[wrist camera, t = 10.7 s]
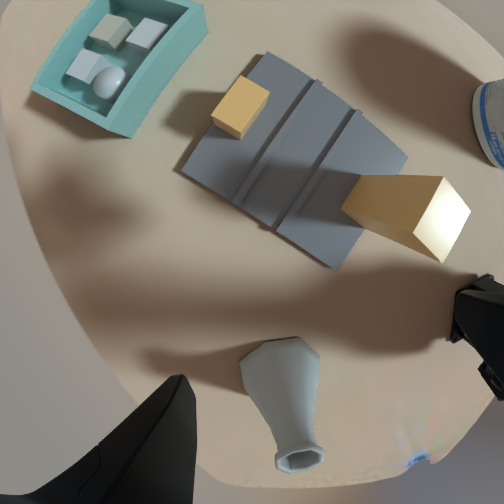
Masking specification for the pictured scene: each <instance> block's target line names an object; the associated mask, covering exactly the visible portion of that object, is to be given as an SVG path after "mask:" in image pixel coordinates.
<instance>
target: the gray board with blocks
mask: <svg viewBox="0 0 504 504" xmlns="http://www.w3.org/2000/svg"><path fill="white" fill-rule="evenodd" d="M211 117H212V119H213V123H212V124H211V126H210V127H209V129H208V130H207V132H206V133H205V134H204V136H203V137H202V139H201V140H200V142H199V143H198V145H197V147H196V148H195V150H194V151H193V153H192V154H191V156H190V157H189V159H188V161H187V162H186V164H185V165H184V167H183V168H182V170H181V171H182V172H183V173H185V174H187V175H188V176H190V177H192V178H193V179H195V180H197V181H198V182H200V183H201V184H203V185H205V186H206V187H208V188H210V189H211V190H213V191H214V192H216V193H218V194H219V195H221V196H222V197H224V198H226V199H227V200H229V201H230V202H231V203H233V204H234V205H236V206H237V207H240V208H241V209H243V210H245V211H246V212H248V213H249V214H251V215H252V216H254V217H255V218H257V219H259V220H260V221H262V222H263V223H265V224H266V225H268V226H269V227H271V228H272V229H274V230H275V231H276V232H278V233H279V234H281V235H283V236H285V237H286V238H288V239H289V240H291V241H292V242H294V243H295V244H297V245H298V246H300V247H301V248H303V249H304V250H306V251H307V252H309V253H310V254H312V255H313V256H315V257H316V258H318V259H319V260H321V261H322V262H324V263H325V264H327V265H328V266H330V267H331V268H332V269H334V270H335V271H336V270H337V269H338V267H339V266H340V265H341V263H342V262H343V260H344V259H345V257H346V256H347V254H348V253H349V252H350V250H351V249H352V247H353V246H354V244H355V243H356V241H357V240H358V238H359V237H360V235H361V234H362V232H363V231H364V229H368V230H370V231H372V232H375V233H377V234H379V235H382V236H384V237H386V238H388V239H391V240H393V241H395V242H398V243H400V244H402V245H404V246H406V247H409V248H411V249H413V250H415V251H417V252H419V253H422V254H424V255H426V256H428V257H430V258H432V259H434V260H436V261H438V262H440V263H443V262H444V260H445V258H446V257H447V255H448V253H449V251H450V250H451V248H452V246H453V244H454V243H455V241H456V239H457V237H458V235H459V233H460V231H461V229H462V227H463V225H464V223H465V221H466V219H467V217H468V215H469V213H470V210H469V208H468V207H467V205H466V204H465V203H464V201H463V200H462V199H461V198H460V196H459V195H458V194H457V192H456V191H455V190H454V189H453V187H452V186H451V185H450V184H449V182H448V181H447V180H446V179H445V178H444V177H442V176H419V175H398V174H399V172H400V170H401V169H402V167H403V165H404V163H405V162H406V160H407V158H408V156H407V155H406V154H405V153H404V152H403V151H402V150H401V149H400V148H398V147H397V146H396V145H395V144H394V143H393V142H392V141H391V140H390V139H389V138H388V137H387V136H386V135H384V134H383V133H382V132H381V131H380V130H379V129H378V128H376V127H375V126H374V125H373V124H372V123H371V122H369V121H368V120H367V119H366V118H365V117H363V116H362V112H361V111H360V110H358V109H356V110H355V109H354V108H352V107H351V106H350V105H348V104H347V103H346V102H344V101H343V100H342V99H340V98H339V97H338V96H336V95H335V94H334V93H332V92H331V91H330V90H328V89H327V88H325V87H324V86H322V82H321V81H319V80H318V79H316V81H315V80H314V79H312V78H311V77H309V76H308V75H306V74H305V73H303V72H301V71H300V70H298V69H297V68H295V67H293V66H292V65H290V64H288V63H287V62H285V61H283V60H282V59H280V58H278V57H277V56H275V55H273V54H271V53H269V52H268V51H267V53H266V54H265V55H264V56H263V57H262V58H261V60H260V61H259V62H258V63H257V64H256V66H255V67H254V68H253V69H252V71H251V72H250V73H249V74H248V76H247V77H246V78H245V77H243V76H241V75H240V77H239V78H238V79H237V80H236V82H235V83H234V84H233V86H232V87H231V88H230V89H229V91H228V92H227V93H226V95H225V96H224V97H223V99H222V100H221V102H220V103H219V104H218V106H217V107H216V108H215V110H214V111H213V113H212V114H211Z"/></svg>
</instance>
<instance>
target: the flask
mask: <svg viewBox="0 0 504 504" xmlns="http://www.w3.org/2000/svg"><path fill="white" fill-rule="evenodd" d="M239 365H240V371H241V377H242V383H243V387H244V388H245V390H246V392H247V393H248V395H249V396H250V398H251V399H252V400H253V402H254V403H255V405H256V406H257V408H258V409H259V411H260V413H261V414H262V416H263V417H264V419H265V420H266V422H267V424H268V425H269V427H270V429H271V431H272V434H273V436H274V439H275V441H276V444H277V449H278V452H277V453H276V454H275V465H276V469H278V470H281V471H283V472H286V473H295V472H301V471H306V470H309V469H311V468H313V467H315V466H317V465H319V464H321V463H323V461H324V455H325V452H324V449H323V448H322V447H320V446H318V444H317V441H316V437H315V433H314V421H313V415H314V407H315V400H316V394H317V388H318V381H319V355H318V354H317V353H316V352H315V351H313V350H312V349H311V348H310V347H309V346H308V345H307V344H306V343H305V342H304V341H303V340H302V339H301V338H300V337H299V338H293V339H286V340H278V341H270V342H264V343H263V344H262V345H260V346H259V347H258V348H256V349H255V350H254V351H252V352H251V353H250V354H249V355H247V356H246V357H245V358H243V359H242V360H241V361H239Z"/></svg>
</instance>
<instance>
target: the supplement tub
mask: <svg viewBox="0 0 504 504" xmlns="http://www.w3.org/2000/svg"><path fill="white" fill-rule="evenodd" d="M472 112H473V121H474V126H475V130H476V133H477V137H478V139H479V142H480V145H481V147H482V149H483V151H484V153H485V154H486V156H487V157H488V159H489V160H490V161H491V162H492V164H493V165H495V166H496V167H497V168H499V169H501V170H504V79H502V80H497V81H493V82H489V83H485V84H482V85H480V86H479V87H478V88H477V89H476V91H475V93H474V97H473V104H472Z"/></svg>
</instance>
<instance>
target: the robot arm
mask: <svg viewBox="0 0 504 504" xmlns="http://www.w3.org/2000/svg"><path fill="white" fill-rule="evenodd" d="M461 339H464V340H465V341H467V342H468V343H469V344H470V345H471V346H472V347H474V348H475V349H476V351H477V352H478V353H479V355H480V356H481V357H482V358H483V360H484V361H483V363H482V364H480V366H479V368H478V370H479V372H480V373H481V376H482V377H483V379H484V380H485V381H486V383H487V384H488V386H489V387H490V388H491V390H492V391H493V393H494V394H495V396H496V397H497V399H498V400H499V401H504V285H502V284H500V283H498V282H496V281H494V276H493V275H488V276H486V277H484V278H482V279H480V280H478V281H476V282H474V283H472V284H470V285H468V286H466V287H464V288H462V289H460V290H458V291H457V293H456V298H455V309H454V317H453V325H452V332H451V338H450V341H451V342H452V343H456V342H458V341H459V340H461ZM196 452H197V419H196V397H195V394H194V392H193V390H192V388H191V386H190V384H189V382H188V380H187V378H186V376H185V375H183V374H179V375H172V376H170V377H169V378H168V379H167V380H166V381H165V382H164V383H163V384H162V385H161V386H160V387H159V388H158V389H156V390H155V391H154V392H153V393H152V394H151V395H150V396H149V397H148V398H147V399H146V400H145V401H144V402H143V403H142V404H141V405H140V406H139V407H138V408H137V409H135V410H134V411H133V412H132V413H131V414H130V415H129V416H128V417H127V418H126V419H125V420H124V421H123V422H121V423H120V424H119V425H118V426H117V427H116V428H115V429H114V430H113V431H112V432H111V433H109V435H107V436H106V437H105V438H104V439H103V440H102V441H101V442H99V444H98V445H96V446H95V447H94V448H93V449H92V450H91V451H89V452H88V453H87V454H86V455H85V456H84V457H82V458H81V459H80V460H79V461H78V462H76V463H75V464H74V465H72V466H71V467H70V468H68V469H67V470H65V471H64V472H63V473H61V474H60V475H59V476H57V477H55V478H54V479H53V480H51V481H50V482H48V483H47V484H45V485H44V486H42V487H41V488H39V489H37V490H36V491H34V492H31V493H29V494H24V495H5V494H0V504H193V490H194V475H195V464H196Z"/></svg>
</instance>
